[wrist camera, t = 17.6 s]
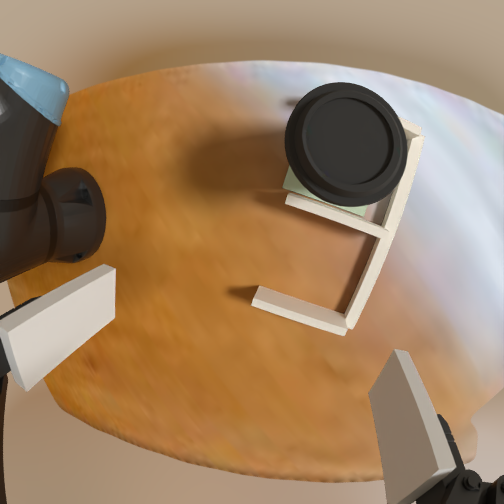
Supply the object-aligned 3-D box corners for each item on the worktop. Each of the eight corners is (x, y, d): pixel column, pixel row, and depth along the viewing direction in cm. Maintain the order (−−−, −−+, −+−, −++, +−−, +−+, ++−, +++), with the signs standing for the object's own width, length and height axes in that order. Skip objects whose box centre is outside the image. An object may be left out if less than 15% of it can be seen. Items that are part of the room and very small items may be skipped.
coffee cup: (353, 110, 28) (385, 60, 14) (381, 182, 29) (436, 187, 15) (281, 134, 30) (259, 98, 16) (309, 207, 32) (312, 230, 18)
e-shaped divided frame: (257, 292, 36) (251, 305, 32) (319, 97, 29) (320, 87, 25) (351, 323, 34) (355, 339, 31) (420, 138, 27) (433, 133, 23)
